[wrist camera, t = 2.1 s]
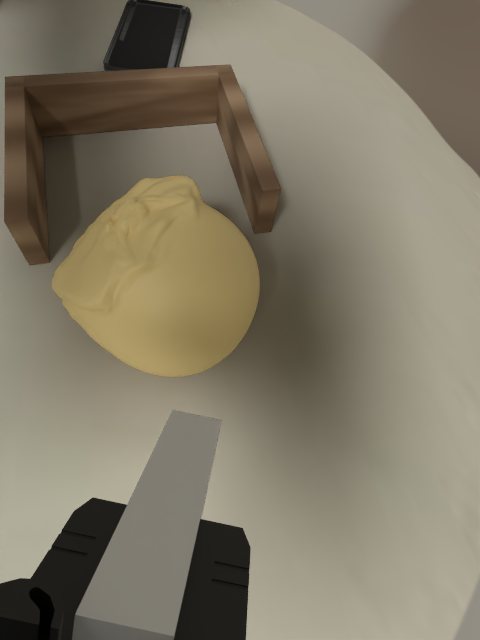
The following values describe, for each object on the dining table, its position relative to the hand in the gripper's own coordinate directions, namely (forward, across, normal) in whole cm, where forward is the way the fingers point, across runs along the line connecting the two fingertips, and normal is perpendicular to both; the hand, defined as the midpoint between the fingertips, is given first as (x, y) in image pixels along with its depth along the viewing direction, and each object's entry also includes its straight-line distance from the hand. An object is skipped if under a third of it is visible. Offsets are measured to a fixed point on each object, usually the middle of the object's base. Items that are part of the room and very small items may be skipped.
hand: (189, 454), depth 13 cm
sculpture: (+19, -5, -2) cm, 20 cm away
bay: (+29, -11, +8) cm, 31 cm away
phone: (+45, -17, +23) cm, 53 cm away
